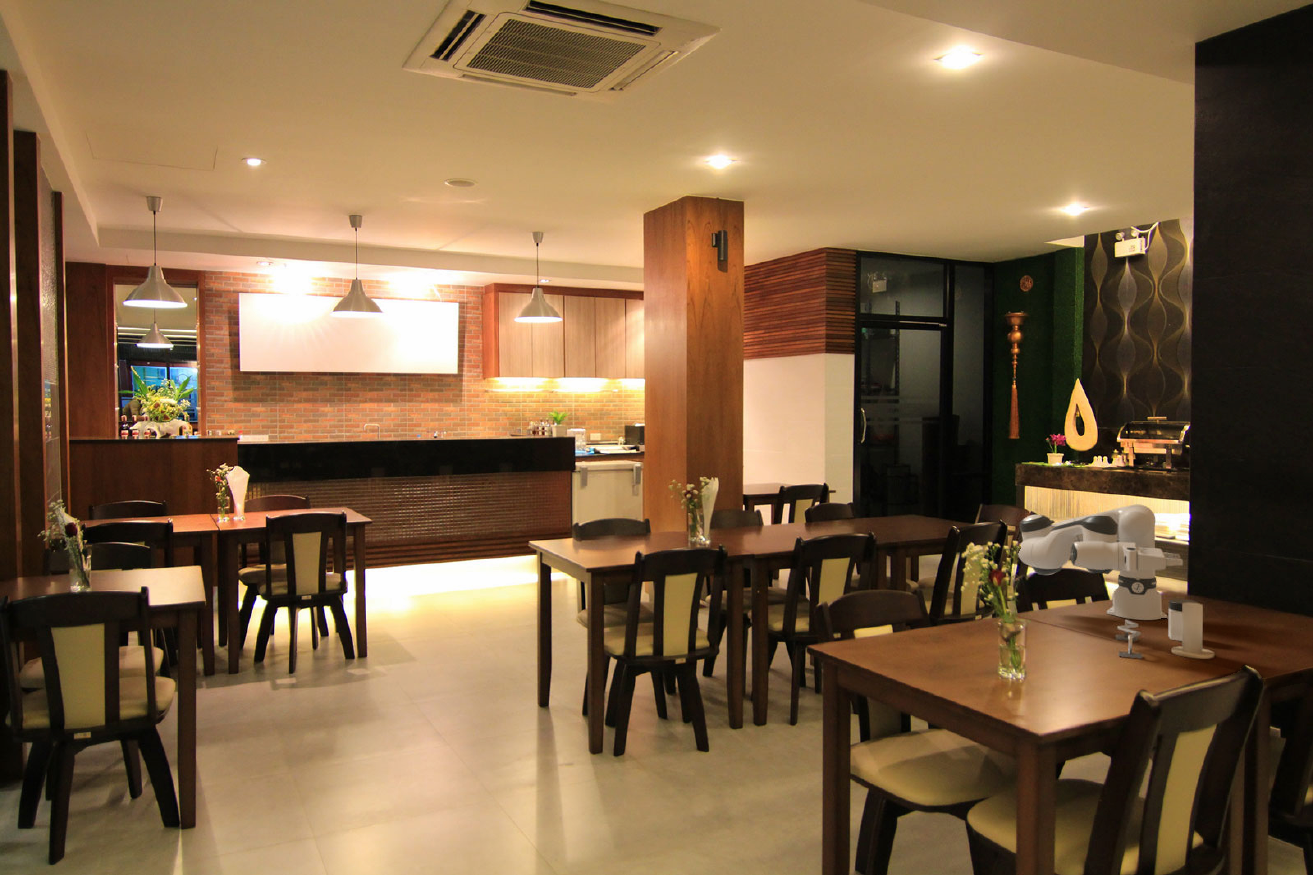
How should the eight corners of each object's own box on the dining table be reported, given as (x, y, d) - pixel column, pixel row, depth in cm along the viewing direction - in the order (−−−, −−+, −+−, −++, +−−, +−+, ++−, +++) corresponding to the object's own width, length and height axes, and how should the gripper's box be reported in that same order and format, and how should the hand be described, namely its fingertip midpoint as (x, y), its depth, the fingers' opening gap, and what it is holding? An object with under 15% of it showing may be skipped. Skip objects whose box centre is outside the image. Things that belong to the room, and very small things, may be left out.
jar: (1179, 642, 282) (1179, 604, 281) (1161, 636, 290) (1161, 599, 289) (1205, 641, 283) (1206, 603, 282) (1187, 635, 291) (1187, 598, 291)
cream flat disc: (1170, 647, 276) (1170, 644, 276) (1212, 651, 271) (1212, 648, 271) (1172, 656, 266) (1172, 653, 266) (1216, 660, 261) (1216, 657, 261)
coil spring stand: (1115, 637, 289) (1115, 617, 289) (1136, 639, 286) (1137, 619, 286) (1119, 657, 266) (1119, 635, 266) (1142, 659, 264) (1142, 637, 263)
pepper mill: (1181, 648, 272) (1181, 602, 272) (1201, 650, 270) (1201, 603, 269) (1182, 652, 267) (1183, 605, 267) (1203, 654, 265) (1203, 606, 265)
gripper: (1127, 562, 285) (1178, 565, 279) (1130, 572, 267) (1184, 575, 260) (1128, 542, 285) (1178, 544, 279) (1130, 551, 266) (1184, 554, 260)
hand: (1181, 559), depth 269 cm, fingers open, 8 cm apart
